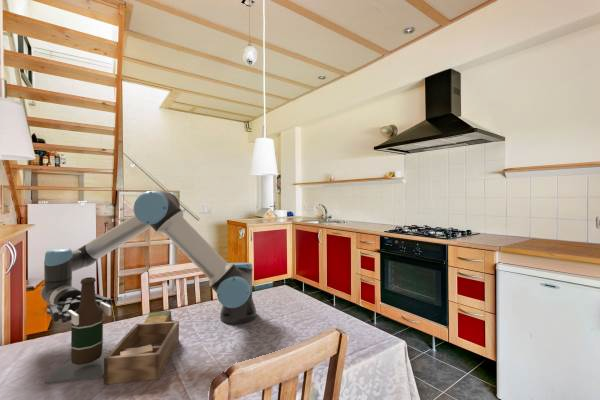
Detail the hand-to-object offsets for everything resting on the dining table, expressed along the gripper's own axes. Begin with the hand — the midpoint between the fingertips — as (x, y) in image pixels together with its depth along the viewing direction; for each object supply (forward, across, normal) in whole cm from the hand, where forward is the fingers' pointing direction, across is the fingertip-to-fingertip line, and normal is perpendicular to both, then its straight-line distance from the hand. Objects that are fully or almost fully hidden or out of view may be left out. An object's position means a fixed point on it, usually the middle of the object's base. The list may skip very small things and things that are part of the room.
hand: (94, 315), depth 83 cm
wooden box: (+6, -12, -16) cm, 21 cm away
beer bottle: (-5, 0, -14) cm, 15 cm away
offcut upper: (+10, -7, -13) cm, 18 cm away
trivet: (-5, 0, -16) cm, 17 cm away
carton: (-13, -25, -17) cm, 33 cm away
